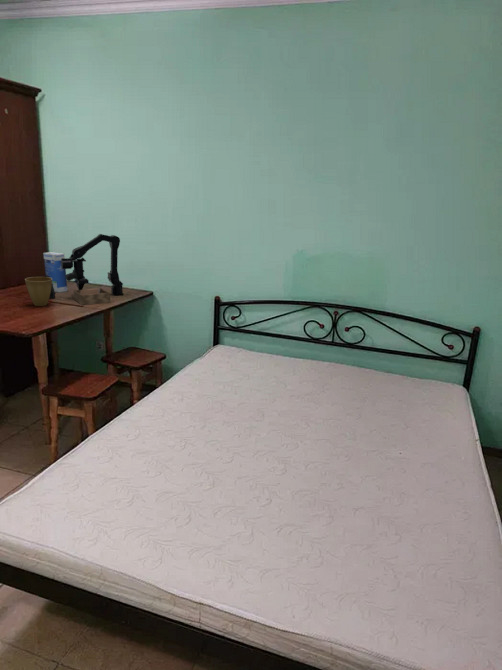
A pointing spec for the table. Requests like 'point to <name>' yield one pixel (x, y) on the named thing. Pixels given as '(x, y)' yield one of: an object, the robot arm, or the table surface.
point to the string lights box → (55, 270)
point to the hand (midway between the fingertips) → (80, 292)
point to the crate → (92, 297)
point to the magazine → (52, 293)
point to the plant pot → (39, 289)
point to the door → (90, 291)
